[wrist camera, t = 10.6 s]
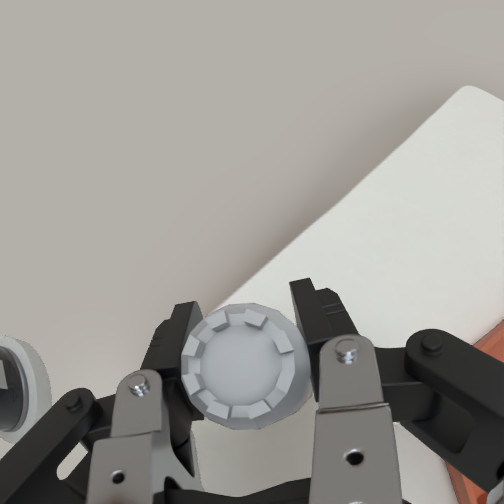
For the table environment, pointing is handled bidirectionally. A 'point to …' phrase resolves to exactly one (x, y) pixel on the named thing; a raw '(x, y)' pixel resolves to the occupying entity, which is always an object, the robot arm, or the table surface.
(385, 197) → the table surface
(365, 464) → the robot arm
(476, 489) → the terracotta tray
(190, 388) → the rook chess piece
